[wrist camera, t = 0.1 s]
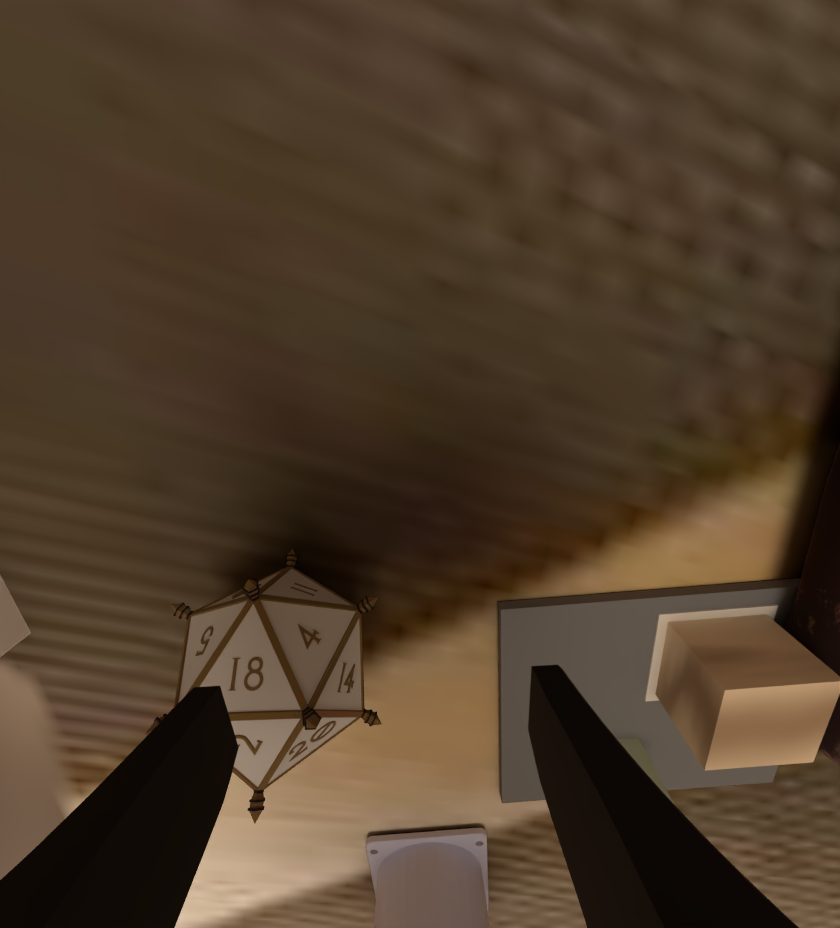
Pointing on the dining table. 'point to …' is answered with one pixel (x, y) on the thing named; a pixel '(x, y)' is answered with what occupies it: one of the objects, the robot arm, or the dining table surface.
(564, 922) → the dining table surface
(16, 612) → the milk
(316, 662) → the game die
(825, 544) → the diary
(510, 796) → the mat
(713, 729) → the beech block
